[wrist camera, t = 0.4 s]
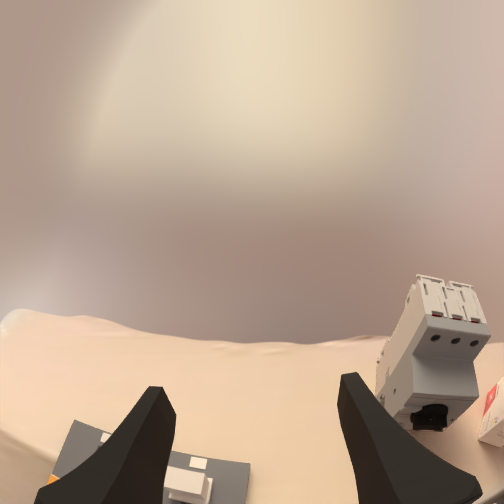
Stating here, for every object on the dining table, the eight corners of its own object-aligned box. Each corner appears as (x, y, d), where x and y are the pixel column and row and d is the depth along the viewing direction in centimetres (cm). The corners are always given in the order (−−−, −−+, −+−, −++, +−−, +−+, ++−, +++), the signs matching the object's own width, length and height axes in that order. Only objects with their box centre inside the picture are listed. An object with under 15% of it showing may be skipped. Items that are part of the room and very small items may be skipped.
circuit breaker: (368, 453, 25) (434, 384, 17) (377, 359, 36) (416, 272, 28) (425, 456, 23) (504, 388, 15) (423, 366, 35) (471, 284, 26)
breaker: (208, 506, 19) (202, 500, 16) (170, 498, 19) (157, 490, 17) (213, 480, 21) (208, 468, 19) (176, 472, 22) (165, 459, 19)
